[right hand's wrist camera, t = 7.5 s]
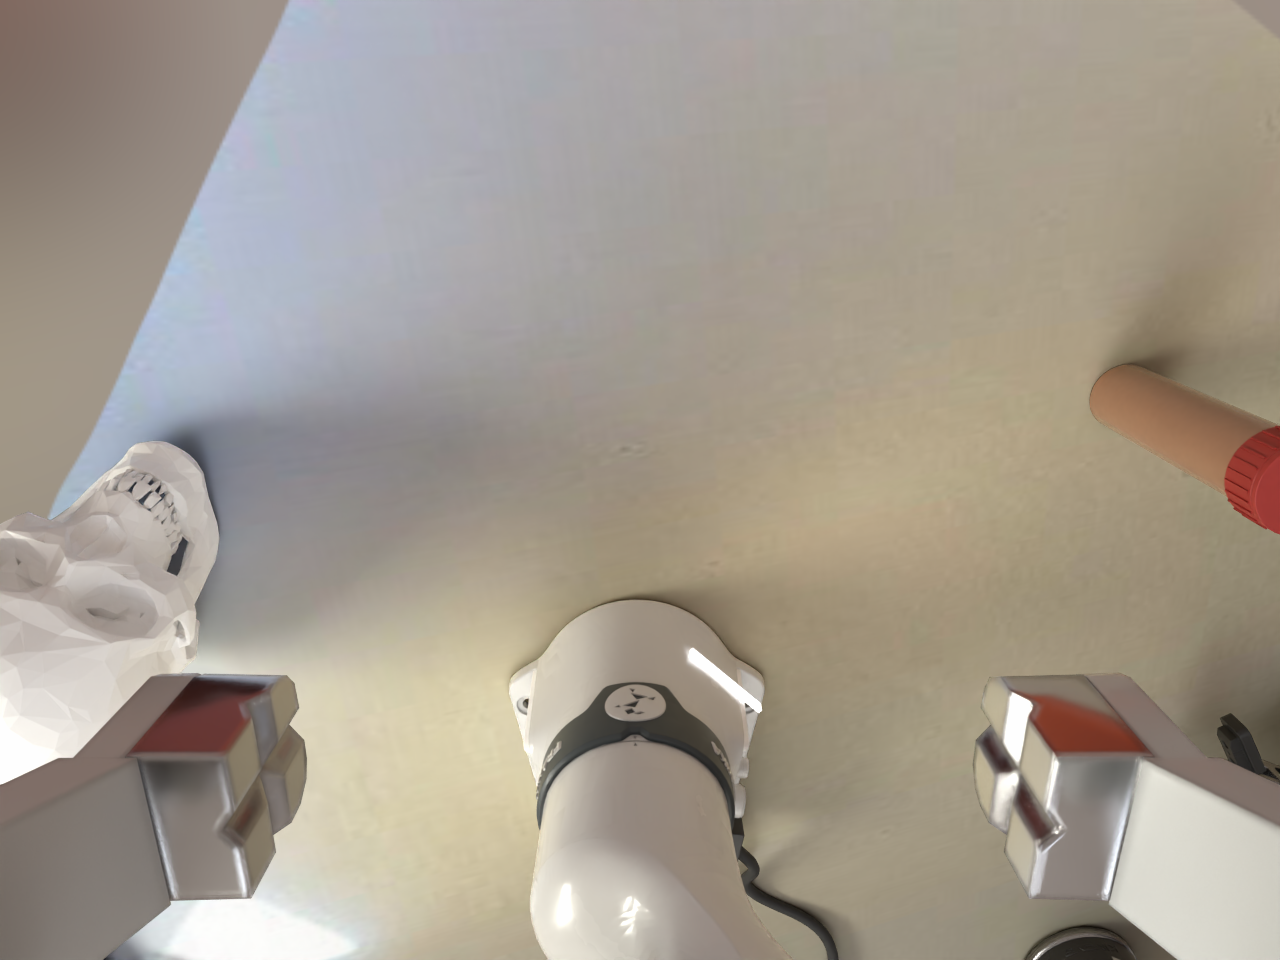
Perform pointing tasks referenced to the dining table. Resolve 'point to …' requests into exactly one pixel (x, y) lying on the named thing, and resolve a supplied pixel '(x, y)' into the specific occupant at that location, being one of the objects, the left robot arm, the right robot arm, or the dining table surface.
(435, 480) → the dining table surface
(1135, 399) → the jar
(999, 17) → the dining table surface
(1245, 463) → the lid
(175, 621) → the skull
